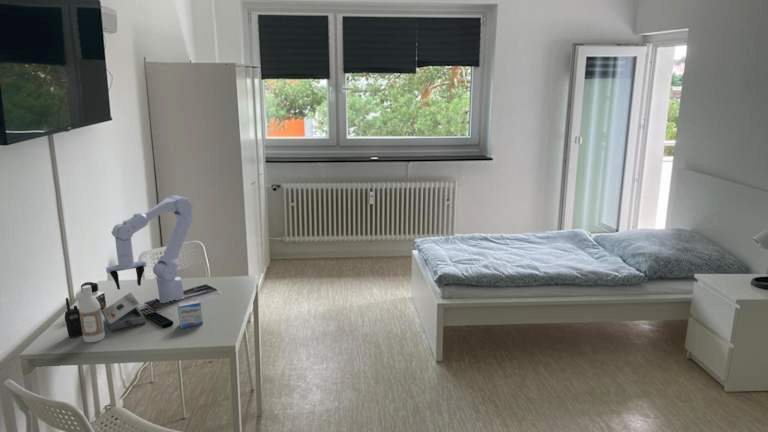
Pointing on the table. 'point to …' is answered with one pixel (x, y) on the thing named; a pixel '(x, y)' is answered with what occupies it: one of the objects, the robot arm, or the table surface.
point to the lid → (120, 308)
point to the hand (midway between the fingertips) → (128, 286)
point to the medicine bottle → (95, 294)
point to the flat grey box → (128, 320)
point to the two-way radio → (73, 321)
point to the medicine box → (190, 313)
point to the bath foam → (91, 316)
